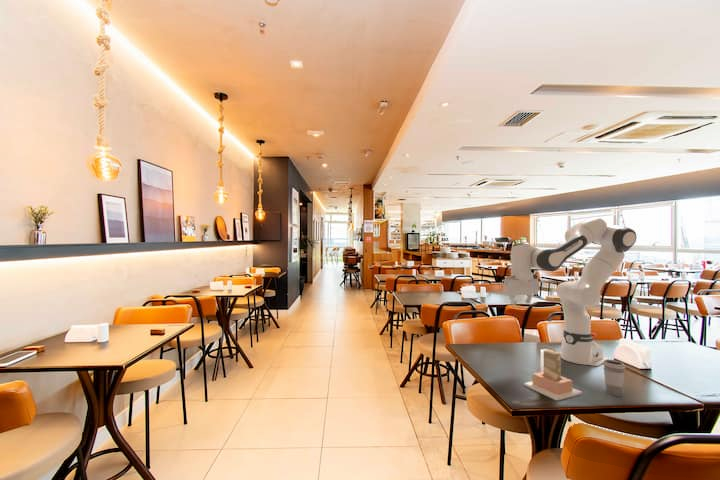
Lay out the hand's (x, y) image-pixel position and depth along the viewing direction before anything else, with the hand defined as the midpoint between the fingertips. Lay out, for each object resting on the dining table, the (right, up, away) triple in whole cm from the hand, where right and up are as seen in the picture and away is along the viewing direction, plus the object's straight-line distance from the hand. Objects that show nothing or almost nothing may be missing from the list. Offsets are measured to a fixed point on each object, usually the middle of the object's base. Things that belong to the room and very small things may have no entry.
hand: (520, 304), depth 156 cm
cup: (+21, -29, -31) cm, 47 cm away
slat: (-2, -28, -28) cm, 39 cm away
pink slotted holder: (-2, -29, -28) cm, 40 cm away
